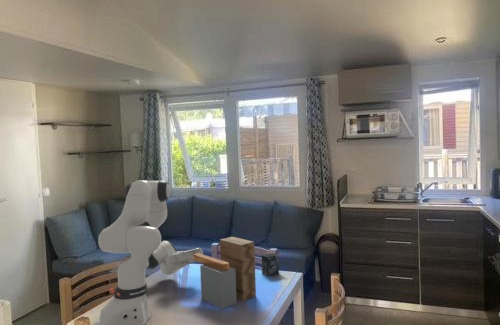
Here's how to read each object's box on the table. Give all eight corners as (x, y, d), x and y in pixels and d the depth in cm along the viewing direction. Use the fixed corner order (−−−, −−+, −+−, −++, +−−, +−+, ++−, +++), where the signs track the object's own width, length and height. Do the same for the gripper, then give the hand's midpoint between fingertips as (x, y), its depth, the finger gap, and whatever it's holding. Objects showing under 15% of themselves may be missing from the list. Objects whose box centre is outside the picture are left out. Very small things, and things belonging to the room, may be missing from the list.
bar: (224, 271, 173) (223, 264, 172) (193, 260, 190) (193, 254, 190) (229, 269, 175) (229, 262, 174) (198, 259, 192) (198, 253, 192)
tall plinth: (243, 301, 179) (241, 245, 178) (221, 292, 191) (219, 239, 190) (255, 296, 184) (254, 241, 183) (234, 287, 196) (232, 236, 195)
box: (267, 276, 212) (267, 257, 211) (261, 273, 216) (261, 254, 216) (279, 273, 216) (278, 254, 216) (273, 270, 221) (272, 252, 220)
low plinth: (222, 308, 171) (221, 272, 170) (201, 299, 183) (200, 265, 182) (236, 303, 176) (235, 268, 175) (215, 294, 188) (213, 261, 187)
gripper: (159, 258, 198) (170, 249, 189) (193, 250, 212) (205, 241, 202) (162, 270, 196) (174, 261, 187) (196, 261, 210) (209, 252, 200)
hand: (191, 251), depth 195 cm, fingers open, 8 cm apart
